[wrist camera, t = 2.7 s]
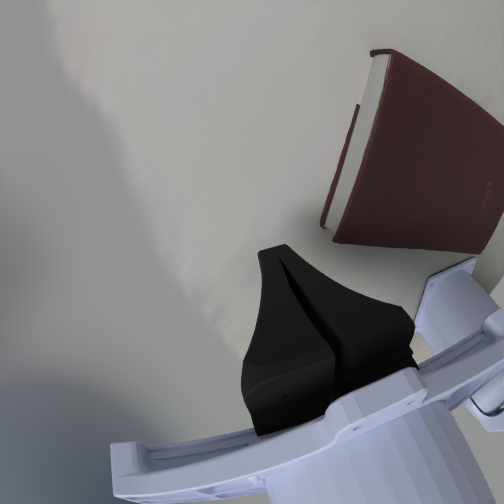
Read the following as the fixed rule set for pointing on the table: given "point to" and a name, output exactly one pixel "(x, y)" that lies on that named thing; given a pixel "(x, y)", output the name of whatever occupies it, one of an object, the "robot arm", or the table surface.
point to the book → (417, 165)
